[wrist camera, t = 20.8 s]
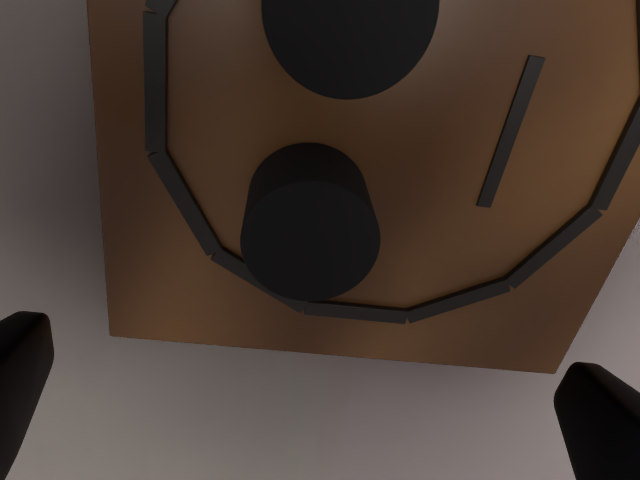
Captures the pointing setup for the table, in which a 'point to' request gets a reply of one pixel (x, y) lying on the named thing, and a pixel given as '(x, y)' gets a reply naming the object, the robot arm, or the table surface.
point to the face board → (373, 178)
